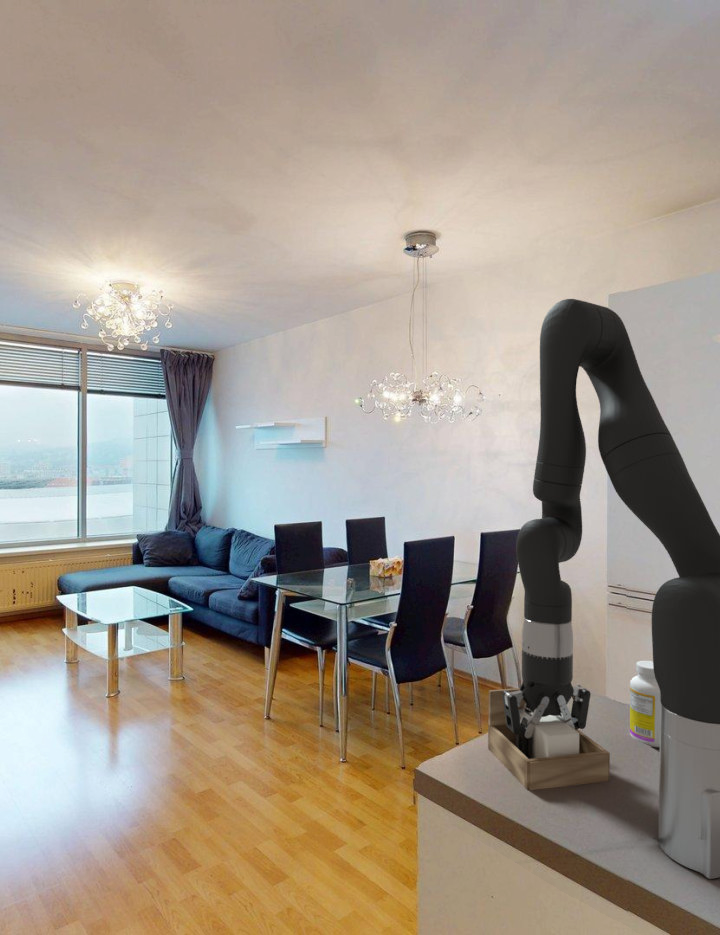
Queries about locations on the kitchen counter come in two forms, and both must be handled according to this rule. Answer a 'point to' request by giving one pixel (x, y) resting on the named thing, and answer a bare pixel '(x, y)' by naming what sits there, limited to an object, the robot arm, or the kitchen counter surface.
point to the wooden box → (546, 770)
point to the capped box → (552, 738)
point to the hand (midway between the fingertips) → (545, 757)
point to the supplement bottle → (645, 705)
